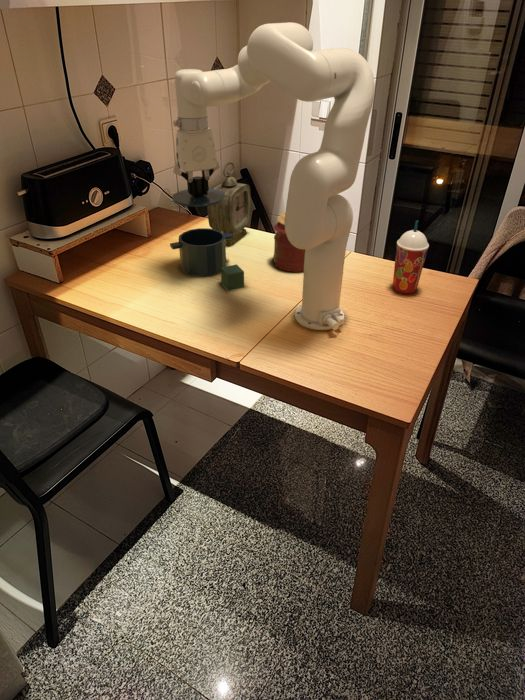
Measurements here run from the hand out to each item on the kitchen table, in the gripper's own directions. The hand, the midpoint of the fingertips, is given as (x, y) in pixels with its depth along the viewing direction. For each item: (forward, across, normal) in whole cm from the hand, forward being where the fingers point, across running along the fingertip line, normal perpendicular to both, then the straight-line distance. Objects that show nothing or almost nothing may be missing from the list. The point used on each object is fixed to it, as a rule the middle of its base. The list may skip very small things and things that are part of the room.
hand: (198, 194), depth 144 cm
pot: (+22, 0, +1) cm, 23 cm away
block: (+23, +4, -14) cm, 27 cm away
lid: (+1, 0, 0) cm, 1 cm away
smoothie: (+23, +47, -36) cm, 64 cm away
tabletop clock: (+23, +16, +18) cm, 33 cm away
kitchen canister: (+23, +26, -9) cm, 36 cm away
